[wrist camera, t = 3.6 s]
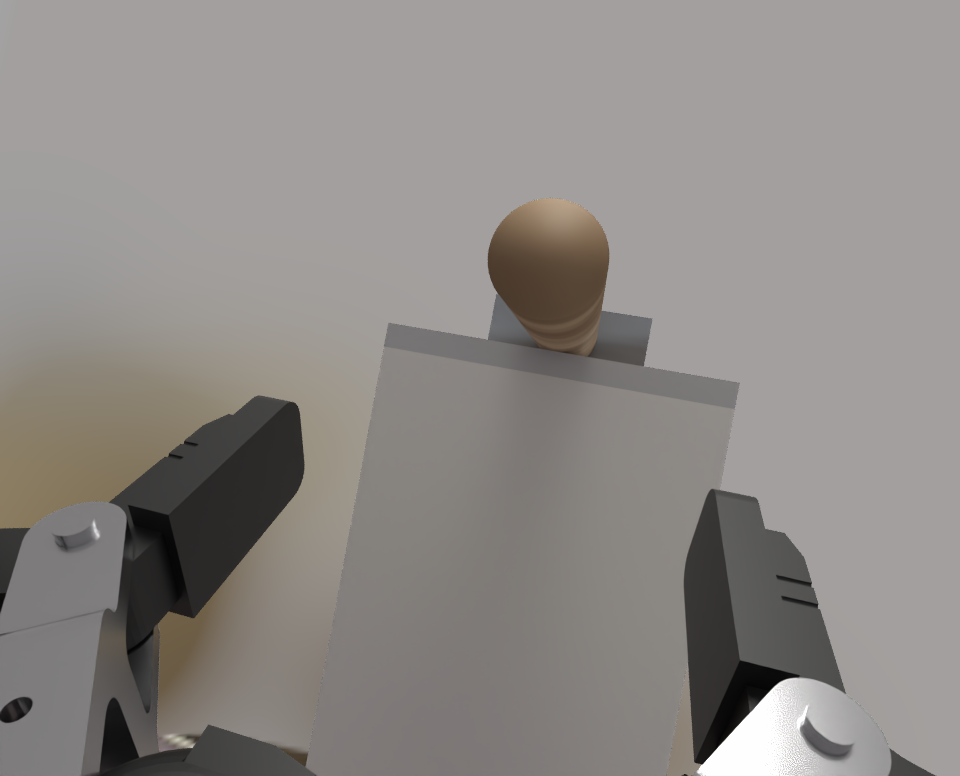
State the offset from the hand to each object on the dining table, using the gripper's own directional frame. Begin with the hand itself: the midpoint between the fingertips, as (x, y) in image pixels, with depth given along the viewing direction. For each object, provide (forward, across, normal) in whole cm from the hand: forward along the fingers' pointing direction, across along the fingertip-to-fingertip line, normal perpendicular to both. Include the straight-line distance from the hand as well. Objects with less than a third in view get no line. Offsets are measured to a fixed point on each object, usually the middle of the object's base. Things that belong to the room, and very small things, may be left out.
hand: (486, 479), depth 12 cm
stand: (+2, 0, +34) cm, 34 cm away
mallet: (+14, 0, +4) cm, 14 cm away
